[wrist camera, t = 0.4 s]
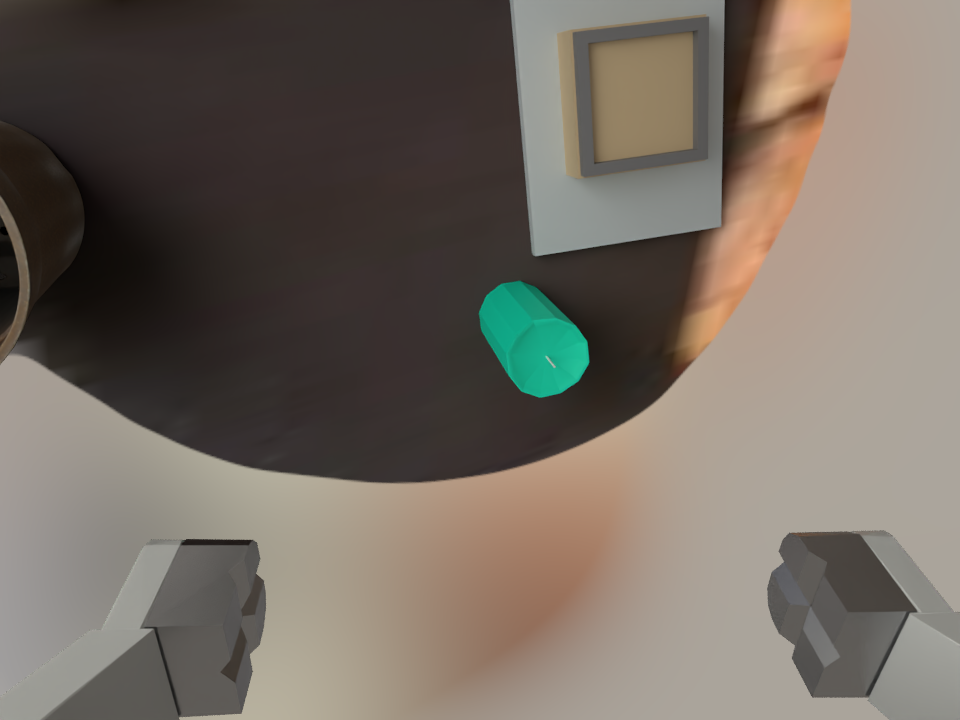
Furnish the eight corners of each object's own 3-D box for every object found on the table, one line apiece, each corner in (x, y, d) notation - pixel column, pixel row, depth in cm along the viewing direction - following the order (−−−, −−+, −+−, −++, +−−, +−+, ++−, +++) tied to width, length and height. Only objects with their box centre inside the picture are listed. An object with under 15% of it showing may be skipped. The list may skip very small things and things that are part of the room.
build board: (505, -55, 49) (521, -70, 44) (718, -76, 51) (754, -92, 47) (531, 253, 57) (548, 267, 53) (715, 224, 59) (745, 235, 55)
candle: (554, 284, 58) (604, 328, 47) (541, 352, 60) (587, 409, 49) (484, 277, 57) (519, 320, 46) (473, 346, 59) (505, 404, 48)
